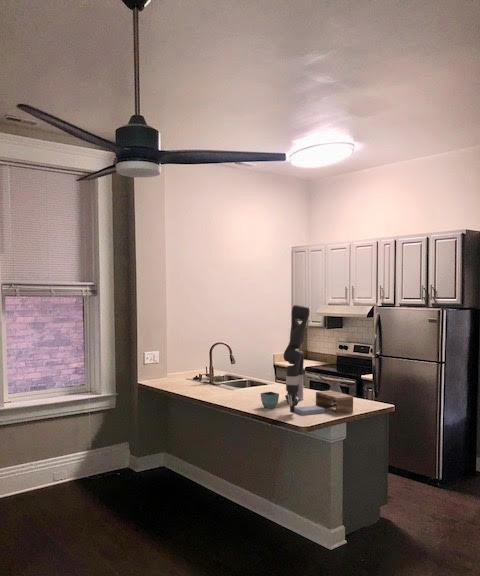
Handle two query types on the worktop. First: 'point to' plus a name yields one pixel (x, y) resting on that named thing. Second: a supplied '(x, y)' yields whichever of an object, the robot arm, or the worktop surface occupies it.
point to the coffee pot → (333, 386)
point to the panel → (309, 410)
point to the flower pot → (269, 399)
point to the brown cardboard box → (342, 401)
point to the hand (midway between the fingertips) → (292, 412)
